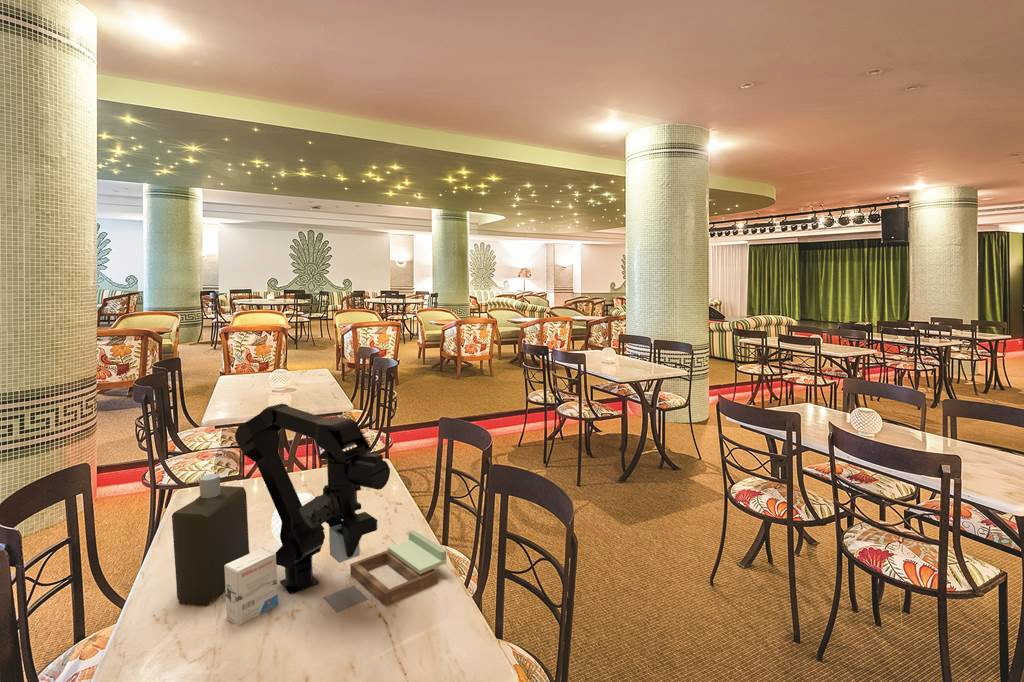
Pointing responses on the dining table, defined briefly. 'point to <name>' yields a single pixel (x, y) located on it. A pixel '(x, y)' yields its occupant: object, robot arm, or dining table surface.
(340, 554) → the block
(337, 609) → the mat
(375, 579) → the brown hollow rectangular piece
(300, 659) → the dining table surface
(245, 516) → the bottle
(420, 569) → the cover
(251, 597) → the ink box
